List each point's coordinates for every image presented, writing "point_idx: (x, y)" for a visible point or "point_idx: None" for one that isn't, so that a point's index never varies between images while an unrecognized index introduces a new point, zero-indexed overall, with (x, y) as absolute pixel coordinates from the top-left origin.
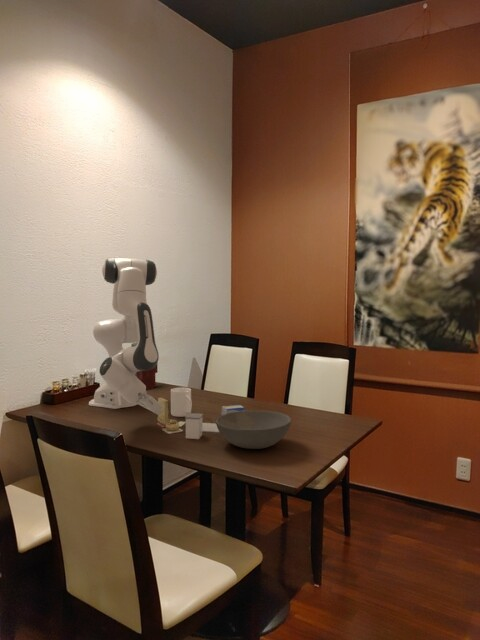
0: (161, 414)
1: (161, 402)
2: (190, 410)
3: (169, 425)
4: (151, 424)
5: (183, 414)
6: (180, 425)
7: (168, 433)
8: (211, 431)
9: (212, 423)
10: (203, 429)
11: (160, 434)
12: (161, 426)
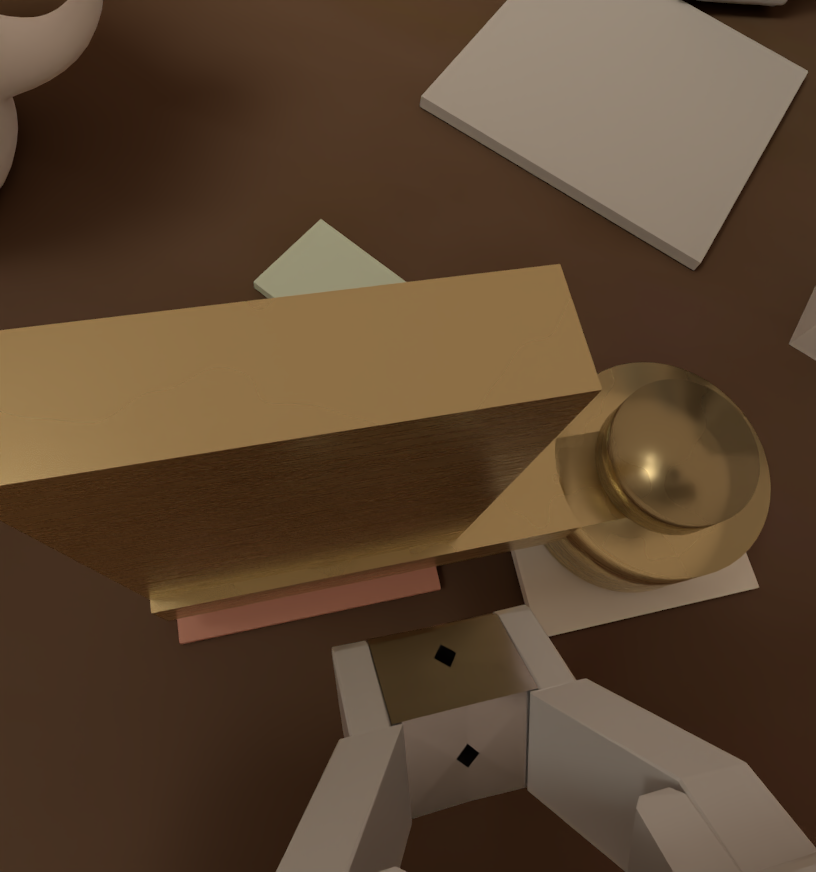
0: (313, 552)
1: (317, 468)
2: (101, 10)
3: (751, 541)
4: (167, 744)
5: (7, 136)
6: None
7: (741, 591)
8: (779, 120)
9: (504, 7)
10: (702, 161)
11: (751, 719)
12: (373, 602)
